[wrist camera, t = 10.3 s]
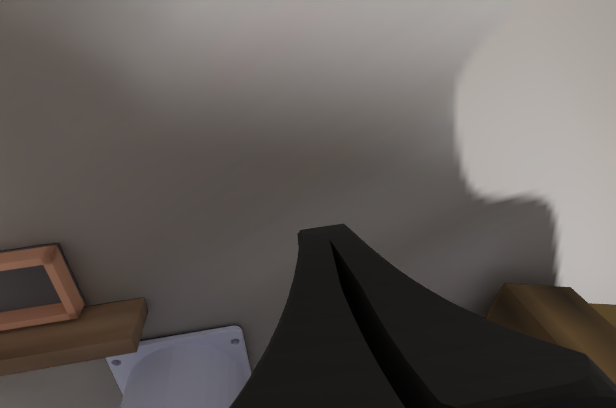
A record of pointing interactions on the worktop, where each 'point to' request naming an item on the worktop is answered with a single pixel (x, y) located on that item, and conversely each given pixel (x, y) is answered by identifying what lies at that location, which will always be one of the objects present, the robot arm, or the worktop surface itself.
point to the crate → (560, 320)
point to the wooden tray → (74, 338)
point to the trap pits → (37, 287)
